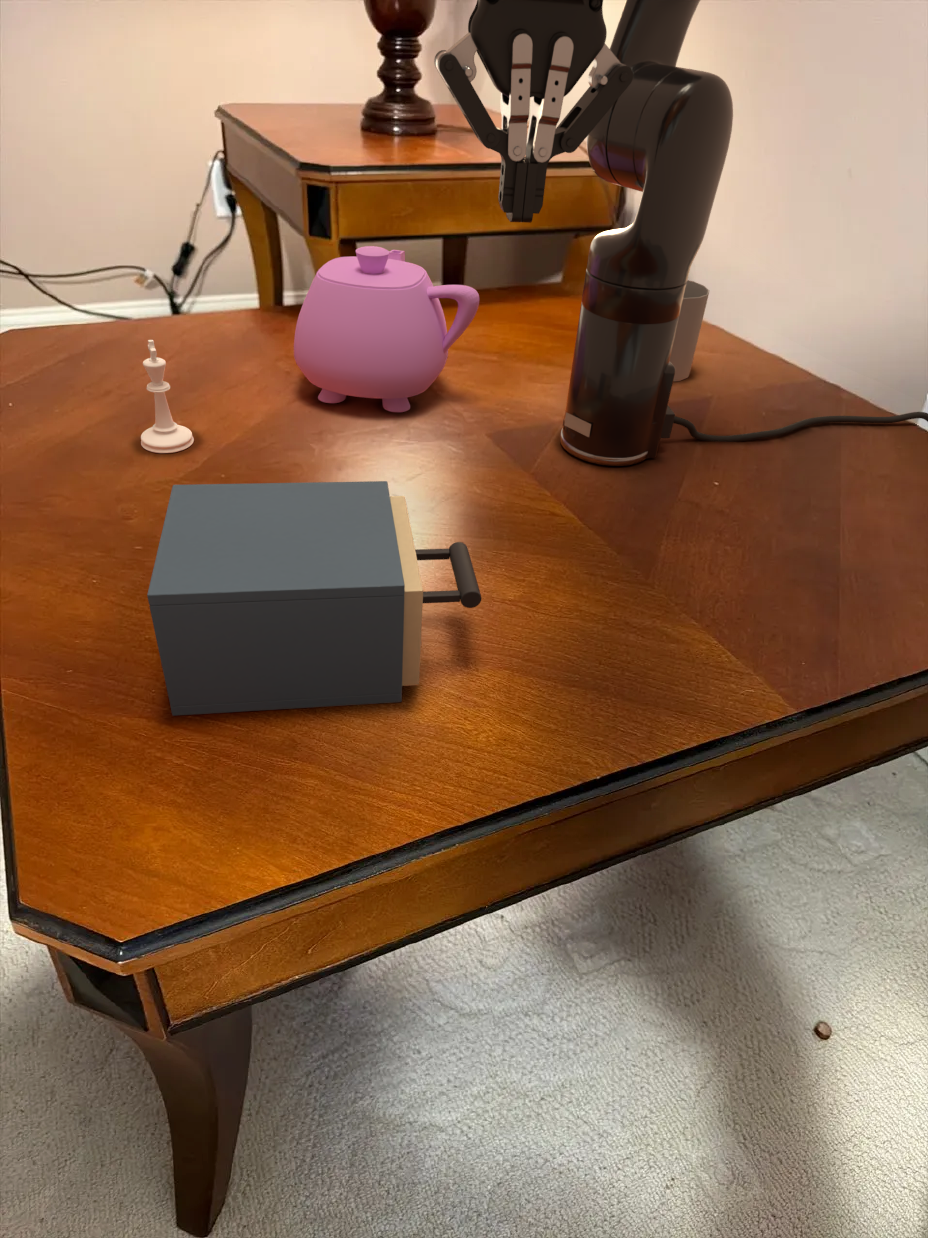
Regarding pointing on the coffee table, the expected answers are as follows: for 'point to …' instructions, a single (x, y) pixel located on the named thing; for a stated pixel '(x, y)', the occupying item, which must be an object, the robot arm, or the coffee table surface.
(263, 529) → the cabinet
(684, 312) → the cup
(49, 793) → the coffee table surface
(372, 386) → the teapot
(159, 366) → the chess piece
